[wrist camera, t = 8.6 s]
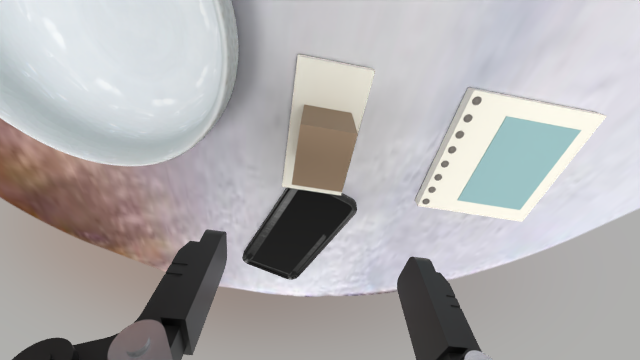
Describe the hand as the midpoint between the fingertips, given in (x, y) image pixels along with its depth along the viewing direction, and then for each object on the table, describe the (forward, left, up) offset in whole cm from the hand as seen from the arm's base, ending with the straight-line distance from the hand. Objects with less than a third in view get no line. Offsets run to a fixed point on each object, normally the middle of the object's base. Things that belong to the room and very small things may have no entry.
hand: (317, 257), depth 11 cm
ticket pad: (+18, 0, -15) cm, 23 cm away
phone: (0, -13, -15) cm, 20 cm away
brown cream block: (0, 0, -15) cm, 15 cm away
